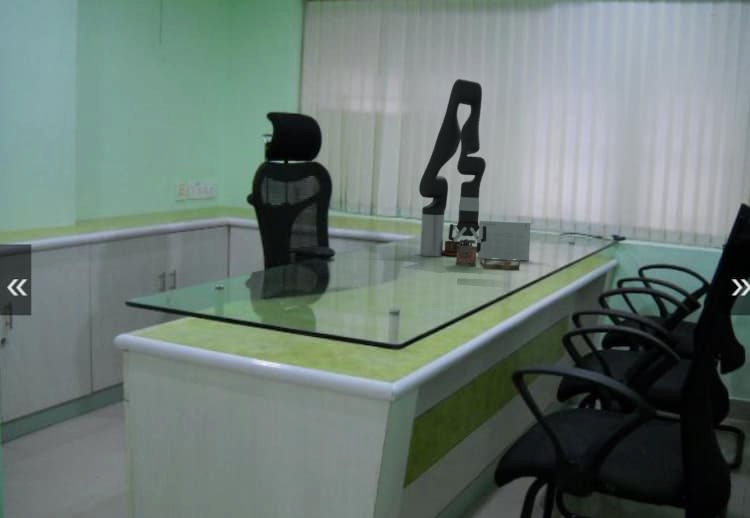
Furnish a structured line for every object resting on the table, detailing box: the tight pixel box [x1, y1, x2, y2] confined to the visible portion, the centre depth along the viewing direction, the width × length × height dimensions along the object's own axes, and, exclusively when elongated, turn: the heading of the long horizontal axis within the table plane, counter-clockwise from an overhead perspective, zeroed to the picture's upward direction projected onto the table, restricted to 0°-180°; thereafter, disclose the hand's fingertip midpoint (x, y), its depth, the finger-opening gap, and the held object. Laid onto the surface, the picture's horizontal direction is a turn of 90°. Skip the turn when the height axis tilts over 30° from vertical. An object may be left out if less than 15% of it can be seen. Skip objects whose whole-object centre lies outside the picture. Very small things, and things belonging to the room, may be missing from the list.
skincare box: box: [477, 220, 532, 262], centre depth 343 cm, size 21×6×16 cm, turn 84°
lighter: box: [455, 238, 477, 268], centre depth 313 cm, size 8×3×10 cm, turn 62°
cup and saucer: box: [442, 240, 460, 257], centre depth 348 cm, size 12×12×6 cm
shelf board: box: [479, 258, 521, 271], centre depth 315 cm, size 13×17×4 cm
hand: (466, 252), depth 313 cm, fingers open, 8 cm apart
